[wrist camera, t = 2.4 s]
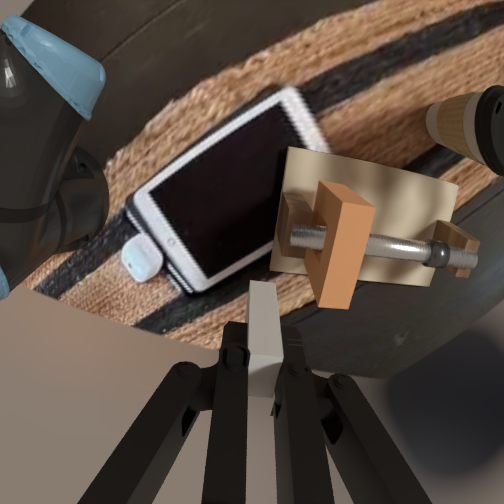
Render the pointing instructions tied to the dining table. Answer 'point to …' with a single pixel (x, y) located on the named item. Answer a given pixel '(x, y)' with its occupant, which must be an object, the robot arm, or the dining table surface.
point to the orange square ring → (338, 243)
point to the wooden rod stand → (385, 216)
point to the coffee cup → (471, 126)
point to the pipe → (392, 248)
